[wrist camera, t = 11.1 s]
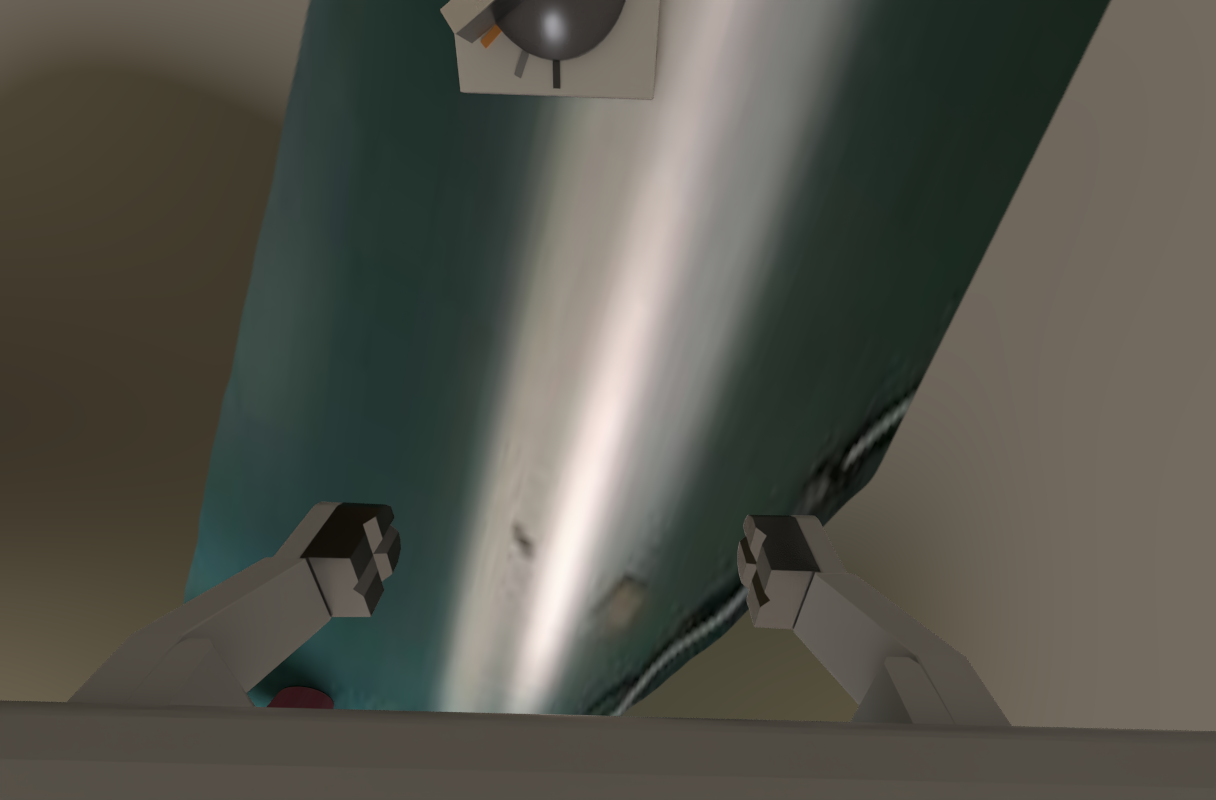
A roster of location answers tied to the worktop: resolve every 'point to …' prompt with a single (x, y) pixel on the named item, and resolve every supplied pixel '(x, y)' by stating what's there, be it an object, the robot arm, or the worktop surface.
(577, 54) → the dial
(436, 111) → the worktop surface
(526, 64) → the dial base
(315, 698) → the plant pot
